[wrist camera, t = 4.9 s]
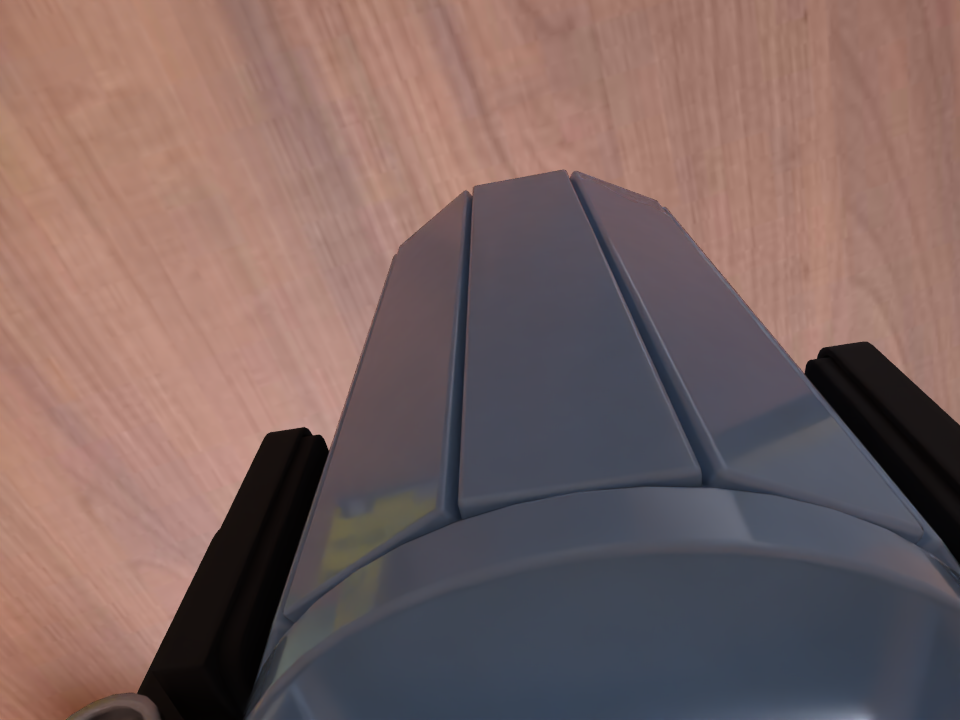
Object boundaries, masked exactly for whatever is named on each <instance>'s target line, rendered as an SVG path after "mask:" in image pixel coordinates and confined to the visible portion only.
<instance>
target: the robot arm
mask: <svg viewBox="0 0 960 720" xmlns="http://www.w3.org/2000/svg"><path fill="white" fill-rule="evenodd" d="M805 375H806V376H807V377H808V379H809V380H810V381H811V382H812V383H813V385H814V386H815V387H816V388H817V389H818V391H819V392H820V393H821V394H822V396H823V397H824V398H825V399H826V400H827V402H828V403H829V404H830V405H831V406H832V408H833V409H834V410H835V411H836V412H837V414H838V415H839V416H840V417H841V418H842V420H843V421H844V422H845V423H846V424H847V426H848V427H849V428H850V429H851V430H852V432H853V433H854V434H855V435H856V436H857V438H858V439H859V440H860V441H861V442H862V444H863V445H864V446H865V447H866V449H867V450H868V451H869V452H870V453H871V455H872V456H873V457H874V458H875V459H876V461H877V462H878V463H879V464H880V465H881V467H882V468H883V469H884V470H885V471H886V473H887V474H888V475H889V476H890V477H891V479H892V480H893V481H894V482H895V483H896V485H897V486H898V487H899V488H900V489H901V491H902V492H903V493H904V494H905V496H906V497H907V498H908V499H909V500H910V502H911V503H912V504H913V505H914V506H915V508H916V509H917V510H918V511H919V512H920V514H921V515H922V516H923V517H924V518H925V520H926V521H927V522H928V523H929V524H930V526H931V527H932V528H933V529H934V530H935V532H936V533H937V534H938V535H939V536H940V538H941V539H942V540H943V542H944V543H945V545H946V546H947V547H948V549H949V550H950V552H951V553H952V555H953V556H954V558H955V559H956V560H957V562H958V563H959V565H960V425H959V424H958V423H957V422H956V421H954V420H953V419H952V418H951V417H950V416H949V415H948V414H947V413H946V412H945V411H944V410H942V409H941V408H940V407H939V406H938V405H937V404H936V403H935V402H934V401H933V400H932V399H931V398H929V397H928V396H927V395H926V394H925V393H924V392H923V391H922V390H921V389H920V388H919V387H918V386H916V385H915V384H914V383H913V382H912V381H911V380H910V379H909V378H908V377H907V376H906V375H905V374H903V373H902V372H901V371H900V370H899V369H898V368H897V367H896V366H895V365H894V364H893V363H892V362H890V361H889V360H888V359H887V358H886V357H885V356H884V355H883V354H882V353H881V352H880V351H879V350H877V349H876V348H875V347H874V346H873V345H872V344H870V343H869V342H857V343H851V344H844V345H838V346H831V347H825V348H822V349H821V350H820V352H819V354H818V357H817V359H814V360H810V361H808V362H807V365H806V369H805ZM328 453H329V450H328V448H327V445H326V442H325V440H324V438H323V437H322V436H321V435H313V436H312V434H311V432H310V431H309V429H308V428H305V427H302V428H296V429H289V430H283V431H276V432H270V433H268V434H267V435H266V436H265V437H264V439H263V441H262V443H261V446H260V448H259V450H258V452H257V454H256V456H255V458H254V460H253V462H252V464H251V466H250V468H249V470H248V472H247V474H246V477H245V479H244V481H243V483H242V485H241V487H240V489H239V491H238V493H237V495H236V497H235V499H234V501H233V503H232V505H231V508H230V510H229V512H228V514H227V516H226V518H225V520H224V522H223V524H222V526H221V528H220V529H219V530H218V531H217V533H216V534H215V536H214V537H213V539H212V541H211V543H210V545H209V547H208V549H207V551H206V553H205V555H204V557H203V559H202V561H201V563H200V566H199V568H198V570H197V572H196V574H195V576H194V578H193V580H192V582H191V584H190V586H189V588H188V590H187V592H186V594H185V596H184V598H183V600H182V602H181V604H180V606H179V608H178V610H177V613H176V615H175V617H174V619H173V621H172V623H171V625H170V627H169V629H168V631H167V633H166V635H165V637H164V639H163V641H162V643H161V645H160V647H159V649H158V651H157V653H156V655H155V658H154V660H153V662H152V664H151V666H150V668H149V670H148V672H147V674H146V676H145V678H144V680H143V682H142V684H141V686H140V688H139V690H138V692H137V694H135V693H124V694H115V695H111V696H108V697H106V698H103V699H100V700H98V701H95V702H92V703H91V704H89V705H87V706H86V707H84V708H82V709H81V710H79V711H77V712H76V713H74V714H72V715H71V716H70V717H69V718H67V719H66V720H242V719H243V716H244V713H245V710H246V707H247V704H248V701H249V698H250V695H251V693H252V690H253V686H254V683H255V680H256V676H257V673H258V669H259V666H260V663H261V659H262V656H263V653H264V649H265V646H266V643H267V639H268V636H269V632H270V629H271V626H272V622H273V619H274V616H275V613H276V610H277V607H278V604H279V601H280V598H281V595H282V592H283V589H284V586H285V583H286V580H287V577H288V574H289V571H290V568H291V565H292V562H293V559H294V556H295V553H296V550H297V547H298V544H299V541H300V538H301V535H302V532H303V529H304V526H305V523H306V520H307V516H308V513H309V510H310V507H311V504H312V501H313V498H314V495H315V492H316V489H317V486H318V483H319V480H320V477H321V474H322V471H323V468H324V465H325V462H326V459H327V456H328Z"/></svg>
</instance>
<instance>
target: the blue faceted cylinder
mask: <svg viewBox="0 0 960 720" xmlns="http://www.w3.org/2000/svg"><path fill="white" fill-rule="evenodd" d="M242 720H960V565H959V563H958V562H957V560H956V559H955V558H954V556H953V555H952V553H951V552H950V550H949V549H948V547H947V546H946V545H945V543H944V542H943V540H942V539H941V538H940V536H939V535H938V534H937V533H936V532H935V530H934V529H933V528H932V527H931V526H930V524H929V523H928V522H927V521H926V520H925V518H924V517H923V516H922V515H921V514H920V512H919V511H918V510H917V509H916V508H915V506H914V505H913V504H912V503H911V502H910V500H909V499H908V498H907V497H906V496H905V494H904V493H903V492H902V491H901V489H900V488H899V487H898V486H897V485H896V483H895V482H894V481H893V480H892V479H891V477H890V476H889V475H888V474H887V473H886V471H885V470H884V469H883V468H882V467H881V465H880V464H879V463H878V462H877V461H876V459H875V458H874V457H873V456H872V455H871V453H870V452H869V451H868V450H867V449H866V447H865V446H864V445H863V444H862V442H861V441H860V440H859V439H858V438H857V436H856V435H855V434H854V433H853V432H852V430H851V429H850V428H849V427H848V426H847V424H846V423H845V422H844V421H843V420H842V418H841V417H840V416H839V415H838V414H837V412H836V411H835V410H834V409H833V408H832V406H831V405H830V404H829V403H828V402H827V400H826V399H825V398H824V397H823V396H822V394H821V393H820V392H819V391H818V389H817V388H816V387H815V386H814V385H813V383H812V382H811V381H810V380H809V379H808V377H807V376H806V375H805V374H804V373H803V371H802V370H801V369H800V368H799V367H798V365H797V364H796V363H795V362H794V361H793V359H792V358H791V357H790V356H789V355H788V353H787V352H786V351H785V350H784V349H783V347H782V346H781V345H780V344H779V343H778V341H777V340H776V339H775V338H774V336H773V335H772V334H771V333H770V332H769V330H768V329H767V328H766V327H765V326H764V324H763V323H762V322H761V321H760V320H759V318H758V317H757V316H756V315H755V314H754V312H753V311H752V310H751V309H750V308H749V306H748V305H747V304H746V303H745V302H744V300H743V299H742V298H741V297H740V296H739V294H738V293H737V292H736V291H735V289H734V288H733V287H732V286H731V285H730V283H729V282H728V281H727V280H726V279H725V277H724V276H723V275H722V274H721V273H720V271H719V270H718V269H717V268H716V267H715V265H714V264H713V263H712V262H711V261H710V259H709V258H708V257H707V256H706V255H705V253H704V252H703V251H702V250H701V249H700V247H699V246H698V245H697V244H696V243H695V241H694V240H693V239H692V238H691V236H690V235H689V234H688V233H687V232H686V230H685V229H684V228H683V227H682V226H681V224H680V223H679V222H678V221H677V220H676V218H675V217H674V216H673V215H672V214H671V212H670V211H669V210H668V209H667V208H666V207H662V206H661V205H660V204H659V203H658V201H657V200H654V199H651V198H649V197H646V196H643V195H641V194H638V193H635V192H632V191H630V190H627V189H624V188H622V187H619V186H616V185H614V184H611V183H608V182H605V181H603V180H600V179H597V178H595V177H592V176H589V175H586V174H584V173H581V172H578V171H574V172H573V173H572V174H571V177H570V178H569V175H568V173H567V171H566V170H558V171H553V172H548V173H542V174H537V175H531V176H526V177H520V178H515V179H509V180H504V181H499V182H493V183H488V184H482V185H477V186H474V187H473V195H471V194H470V193H469V192H468V191H467V190H465V191H463V192H462V193H461V194H460V195H459V196H458V197H456V198H455V199H454V200H453V201H452V202H451V203H449V204H448V205H447V206H446V207H445V208H444V209H442V210H441V211H440V212H439V213H438V214H437V215H435V216H434V217H433V218H432V219H431V220H430V221H428V222H427V223H426V224H425V225H424V226H423V227H421V228H420V229H419V230H418V231H417V232H416V233H414V234H413V235H412V236H411V237H410V238H409V239H407V240H406V241H405V242H404V243H403V244H402V245H400V247H399V249H398V253H397V254H395V255H394V256H393V259H392V262H391V265H390V268H389V271H388V274H387V277H386V280H385V283H384V287H383V290H382V293H381V296H380V299H379V302H378V305H377V308H376V311H375V314H374V317H373V320H372V323H371V326H370V329H369V332H368V335H367V338H366V341H365V344H364V347H363V350H362V353H361V356H360V359H359V362H358V365H357V368H356V371H355V374H354V377H353V380H352V383H351V386H350V389H349V392H348V395H347V398H346V401H345V405H344V408H343V411H342V414H341V417H340V420H339V423H338V426H337V429H336V432H335V435H334V438H333V441H332V444H331V447H330V450H329V453H328V456H327V459H326V462H325V465H324V468H323V471H322V474H321V477H320V480H319V483H318V486H317V489H316V492H315V495H314V498H313V501H312V504H311V507H310V510H309V513H308V516H307V520H306V523H305V526H304V529H303V532H302V535H301V538H300V541H299V544H298V547H297V550H296V553H295V556H294V559H293V562H292V565H291V568H290V571H289V574H288V577H287V580H286V583H285V586H284V589H283V592H282V595H281V598H280V601H279V604H278V607H277V610H276V613H275V616H274V619H273V622H272V626H271V629H270V632H269V636H268V639H267V643H266V646H265V649H264V653H263V656H262V659H261V663H260V666H259V669H258V673H257V676H256V680H255V683H254V686H253V690H252V693H251V695H250V698H249V701H248V704H247V707H246V710H245V713H244V716H243V719H242Z"/></svg>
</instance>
